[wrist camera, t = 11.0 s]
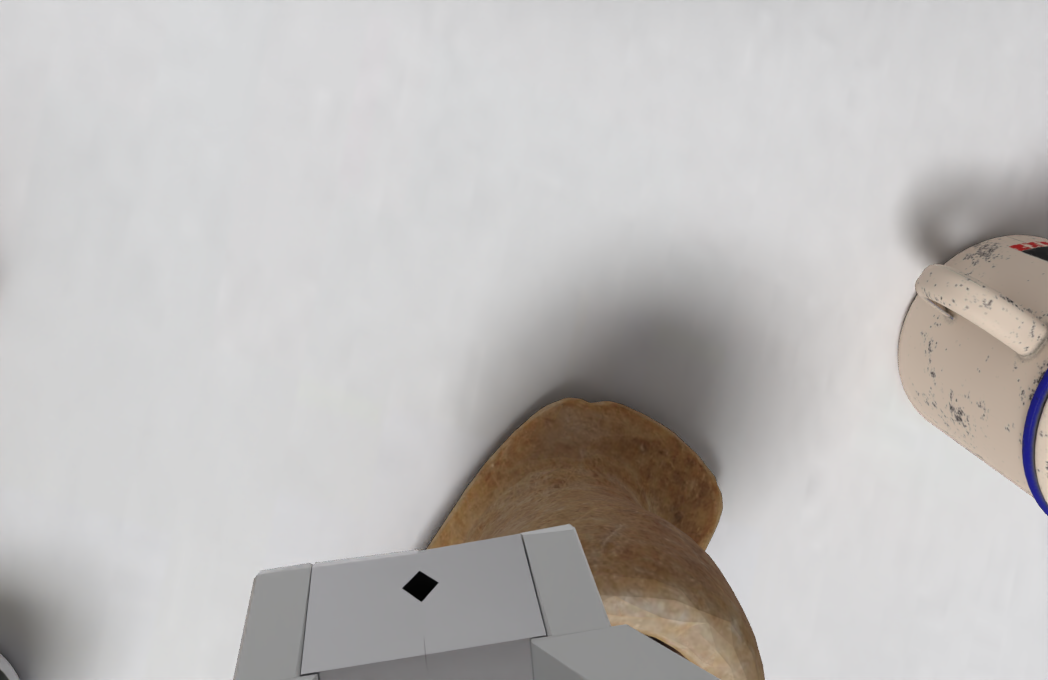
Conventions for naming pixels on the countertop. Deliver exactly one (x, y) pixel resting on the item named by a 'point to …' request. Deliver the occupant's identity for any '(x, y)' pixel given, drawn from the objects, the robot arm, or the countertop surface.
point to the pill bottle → (7, 670)
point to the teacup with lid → (985, 355)
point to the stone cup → (619, 523)
